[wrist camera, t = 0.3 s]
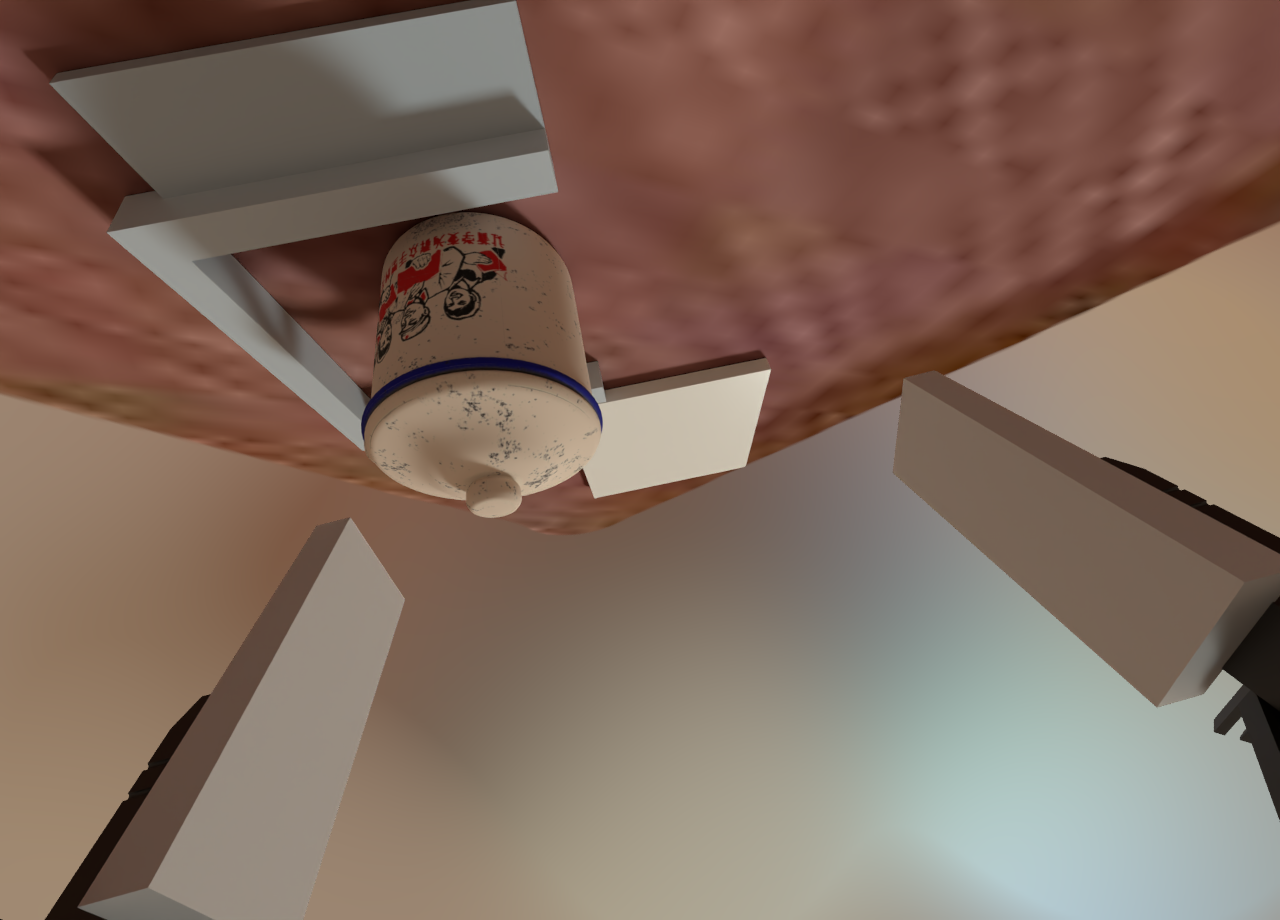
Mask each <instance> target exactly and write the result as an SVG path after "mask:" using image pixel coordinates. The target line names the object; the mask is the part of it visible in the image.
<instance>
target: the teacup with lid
mask: <svg viewBox="0 0 1280 920" xmlns="http://www.w3.org/2000/svg"><path fill="white" fill-rule="evenodd" d="M602 428H603V418H602V413H601V410H600V407H599V405H598V403H597V401H596V400H595V398H594V397H593V396H592V391H591V385H590V380H589V374H588V369H587V363H586V358H585V352H584V347H583V341H582V336H581V330H580V325H579V319H578V314H577V308H576V303H575V297H574V292H573V286H572V282H571V278H570V275H569V272H568V270H567V268H566V266H565V264H564V262H563V260H562V259H561V257H560V256H559V254H558V253H557V252H556V251H555V249H554V248H553V247H552V246H551V245H550V244H549V243H548V242H547V241H545V240H544V239H543V238H542V237H541V236H539V235H538V234H536V233H535V232H534V231H532V230H530V229H529V228H527V227H525V226H523V225H521V224H519V223H517V222H515V221H512V220H509V219H506V218H503V217H499V216H495V215H490V214H485V213H474V212H461V213H451V214H445V215H440V216H437V217H433V218H430V219H428V220H425V221H423V222H421V223H419V224H417V225H415V226H414V227H412V228H411V229H409V230H408V231H407V232H405V233H404V234H403V235H402V236H401V237H400V238H399V239H398V240H397V241H396V242H395V243H394V245H393V246H392V248H391V249H390V251H389V253H388V255H387V257H386V259H385V263H384V266H383V271H382V279H381V290H380V301H379V313H378V324H377V336H376V347H375V359H374V370H373V382H372V393H371V399H370V401H369V402H368V404H367V406H366V407H365V410H364V412H363V415H362V421H361V433H362V437H363V440H364V449H365V452H366V455H367V456H368V458H369V459H370V460H371V461H372V462H374V463H375V464H376V465H377V466H378V467H379V468H380V469H381V470H382V471H383V472H384V473H385V474H386V475H388V476H389V477H390V478H392V479H393V480H395V481H397V482H398V483H400V484H402V485H404V486H406V487H409V488H411V489H414V490H416V491H419V492H422V493H425V494H429V495H433V496H438V497H443V498H449V499H458V500H466V504H467V507H468V508H469V510H470V511H471V512H472V513H474V514H475V515H478V516H481V517H489V518H493V517H501V516H505V515H508V514H511V513H513V512H514V511H515V510H516V509H517V508H518V507H519V506H520V504H521V501H522V496H524V495H528V494H532V493H536V492H539V491H542V490H545V489H548V488H550V487H553V486H555V485H557V484H559V483H561V482H563V481H565V480H567V479H569V478H570V477H572V476H573V475H575V474H576V473H577V472H579V471H580V470H581V469H582V468H583V467H584V466H585V465H586V464H587V463H588V462H589V461H590V460H591V458H592V457H593V455H594V453H595V452H596V449H597V447H598V445H599V442H600V438H601V433H602Z"/></svg>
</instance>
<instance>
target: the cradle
mask: <svg viewBox="0 0 1280 920" xmlns="http://www.w3.org/2000/svg"><path fill="white" fill-rule="evenodd" d="M49 84H50V85H51V86H52V87H53V88H54V89H55V90H56V91H57V92H58V93H59V94H60V95H61V96H62V97H63V98H64V99H65V100H66V101H67V102H68V103H69V104H70V105H71V106H72V107H73V108H74V109H75V110H76V111H77V112H78V113H79V114H80V115H81V116H82V117H83V118H84V119H85V120H86V121H87V122H88V123H89V124H90V125H91V126H92V127H93V128H94V129H95V130H96V131H97V132H98V133H99V134H100V135H101V136H102V137H103V138H104V139H105V140H106V142H107V143H108V144H109V145H110V146H111V147H112V148H113V149H114V150H115V151H116V152H117V153H118V154H119V155H120V156H121V157H122V158H123V159H124V160H125V161H126V162H127V163H128V164H129V165H130V166H131V167H132V168H133V169H134V170H135V171H136V172H137V173H138V174H139V175H140V176H141V177H142V178H143V179H144V180H145V181H146V182H147V183H148V184H149V185H150V186H151V187H152V188H153V189H154V190H155V191H152V192H146V193H141V194H136V195H130V196H125V198H124V200H123V201H122V203H121V205H120V207H119V209H118V211H117V213H116V215H115V217H114V219H113V221H112V223H111V225H110V227H109V229H108V231H107V233H108V234H109V235H110V236H111V237H112V238H114V239H115V240H116V241H117V242H118V243H119V244H121V245H122V246H123V247H124V248H125V249H126V250H128V251H129V252H130V253H131V254H132V255H134V256H135V257H136V258H137V259H138V260H139V261H141V262H142V263H143V264H144V265H145V266H146V267H148V268H149V269H150V270H151V271H152V272H153V273H155V274H156V275H157V276H158V277H159V278H161V279H162V280H163V281H164V282H165V283H166V284H168V285H169V286H170V287H171V288H172V289H173V290H175V291H176V292H177V293H178V294H179V295H180V296H182V297H183V298H184V299H185V300H186V301H188V302H189V303H190V304H191V305H192V306H193V307H195V308H196V309H197V310H198V311H199V312H200V313H202V314H203V315H204V316H205V317H206V318H207V319H209V320H210V321H211V322H212V323H213V324H215V325H216V326H217V327H218V328H219V329H220V330H222V331H223V332H224V333H225V334H226V335H227V336H229V337H230V338H231V339H232V340H233V341H235V342H236V343H237V344H238V345H239V346H240V347H242V348H243V349H244V350H245V351H246V352H247V353H249V354H250V355H251V356H252V357H253V358H254V359H256V360H257V361H258V362H259V363H260V364H262V365H263V366H264V367H265V368H266V369H267V370H269V371H270V372H271V373H272V374H273V375H274V376H276V377H277V378H278V379H279V380H280V381H281V382H283V383H284V384H285V385H286V386H287V387H289V388H290V389H291V390H292V391H293V392H294V393H296V394H297V395H298V396H299V397H300V398H301V399H303V400H304V401H305V402H306V403H307V404H308V405H310V406H311V407H312V408H313V409H314V410H316V411H317V412H318V413H319V414H320V415H321V416H323V417H324V418H325V419H326V420H327V421H328V422H330V423H331V424H332V425H333V426H334V427H336V428H337V429H338V430H339V431H340V432H341V433H343V434H344V435H345V436H346V437H347V438H348V439H350V440H351V441H352V442H353V443H354V444H355V445H357V446H358V447H359V448H360V449H361V450H363V451H365V449H364V440H363V437H362V433H361V421H362V415H363V412H364V410H365V407H366V406H367V404H368V402H369V401H370V398H369V397H368V396H367V395H366V394H365V393H364V392H363V391H362V390H361V389H360V388H359V387H358V386H357V385H356V384H355V383H354V382H353V381H352V379H351V378H350V377H349V376H348V375H347V374H346V373H345V372H344V371H343V370H342V369H341V368H340V367H339V366H338V365H337V364H336V363H335V362H334V361H333V360H332V359H331V358H330V357H329V356H328V355H327V354H326V352H325V351H324V350H323V349H322V348H321V347H320V346H319V345H318V344H317V343H316V342H315V341H314V340H313V339H312V338H311V337H310V336H309V335H308V334H307V333H306V332H305V331H304V330H303V329H302V328H301V326H300V325H299V324H298V323H297V322H296V321H295V320H294V319H293V318H292V317H291V316H290V315H289V314H288V313H287V312H286V311H285V310H284V309H283V308H282V307H281V306H280V305H279V304H278V303H277V302H276V300H275V299H274V298H273V297H272V296H271V295H270V294H269V293H268V292H267V291H266V290H265V289H264V288H263V287H262V286H261V285H260V284H259V283H258V282H257V281H256V280H255V279H254V278H253V277H252V276H251V275H250V273H249V272H248V271H247V270H246V269H245V268H244V267H243V266H242V265H241V264H240V263H239V262H238V261H237V260H236V259H235V258H234V257H233V256H232V255H231V254H232V253H237V252H243V251H248V250H253V249H259V248H264V247H269V246H275V245H280V244H285V243H290V242H296V241H301V240H306V239H312V238H317V237H322V236H327V235H333V234H338V233H343V232H349V231H354V230H359V229H364V228H370V227H375V226H380V225H386V224H391V223H396V222H401V221H407V220H412V219H417V218H423V217H428V216H433V215H439V214H444V213H449V212H454V211H460V210H465V209H470V208H476V207H481V206H486V205H491V204H497V203H502V202H507V201H513V200H518V199H523V198H528V197H534V196H539V195H544V194H550V193H555V192H558V188H557V183H556V178H555V172H554V167H553V161H552V157H551V153H550V148H549V144H548V139H547V135H546V131H545V126H544V122H543V117H542V113H541V108H540V104H539V100H538V95H537V91H536V86H535V82H534V78H533V73H532V69H531V64H530V60H529V56H528V51H527V47H526V42H525V38H524V33H523V29H522V25H521V20H520V16H519V11H518V7H517V3H516V0H469V1H463V2H458V3H452V4H446V5H441V6H435V7H429V8H424V9H418V10H412V11H407V12H401V13H395V14H390V15H384V16H378V17H373V18H367V19H361V20H356V21H350V22H344V23H339V24H333V25H327V26H322V27H316V28H310V29H305V30H299V31H293V32H288V33H282V34H276V35H271V36H265V37H259V38H253V39H248V40H242V41H236V42H231V43H225V44H219V45H214V46H208V47H202V48H197V49H191V50H185V51H180V52H174V53H168V54H163V55H157V56H151V57H146V58H140V59H134V60H129V61H123V62H117V63H112V64H106V65H100V66H95V67H89V68H83V69H78V70H72V71H66V72H61V73H57V74H56V75H55V76H54V77H53V79H52V80H51V81H50V83H49ZM587 369H588V374H589V380H590V385H591V391H592V396H593V397H594V398H595V400H596V401H597V403H602V402H606V396H605V391H604V386H603V382H602V378H601V373H600V369H599V364H598V361H595V362H590V363H587Z"/></svg>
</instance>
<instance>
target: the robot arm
mask: <svg viewBox="0 0 1280 920" xmlns="http://www.w3.org/2000/svg"><path fill="white" fill-rule="evenodd" d="M893 473H894V474H895V475H896V476H897V477H898V478H900V480H902V481H903V482H904V483H905V484H906V485H907V486H908V487H909V488H910V489H912V490H913V491H914V492H915V493H916V494H917V495H918V496H920V497H921V498H922V499H923V500H924V501H925V502H926V503H927V504H928V505H930V506H931V507H932V508H933V509H934V510H935V511H936V512H938V513H939V514H940V515H941V516H942V517H943V518H944V519H946V520H947V521H948V522H949V523H950V524H951V525H952V526H953V527H955V529H957V530H958V531H959V532H960V533H961V534H962V535H963V536H965V537H966V538H967V539H968V540H969V541H970V542H971V543H973V544H974V545H975V546H976V547H977V548H978V549H979V550H980V551H981V552H982V553H984V554H985V555H986V556H987V557H988V558H989V559H990V560H992V561H993V562H994V563H995V564H996V565H997V566H998V567H999V568H1000V569H1002V570H1003V571H1004V572H1005V573H1006V574H1008V576H1009V577H1011V578H1012V579H1013V580H1014V581H1015V582H1016V583H1017V584H1018V585H1020V586H1021V587H1022V588H1023V589H1024V590H1025V591H1026V592H1028V593H1029V594H1030V595H1031V596H1032V597H1033V598H1034V599H1036V600H1037V601H1038V602H1039V603H1040V604H1041V605H1042V606H1043V607H1045V608H1046V609H1047V610H1048V611H1049V612H1050V613H1051V614H1052V615H1053V616H1055V617H1056V618H1057V619H1058V620H1059V621H1060V622H1061V623H1062V624H1064V625H1065V626H1066V627H1067V628H1068V629H1069V630H1070V631H1071V632H1073V633H1074V634H1075V635H1076V636H1077V637H1078V638H1079V639H1080V640H1082V641H1083V642H1084V643H1085V644H1086V645H1087V646H1088V647H1089V648H1091V649H1092V650H1093V651H1094V652H1095V653H1096V654H1097V655H1098V656H1100V657H1101V658H1102V659H1103V660H1104V661H1105V662H1106V663H1108V664H1109V665H1110V666H1111V667H1112V668H1113V669H1114V670H1115V671H1117V672H1118V673H1119V674H1120V675H1121V676H1122V677H1123V678H1124V679H1126V680H1127V681H1128V682H1129V683H1130V684H1131V685H1132V686H1133V687H1134V688H1136V689H1137V690H1138V691H1139V692H1140V693H1141V694H1142V695H1143V696H1145V697H1146V698H1147V699H1148V700H1149V701H1150V702H1152V703H1153V704H1154V705H1155V706H1156V707H1161V706H1164V705H1167V704H1171V703H1174V702H1178V701H1181V700H1185V699H1188V698H1192V697H1195V696H1199V695H1202V694H1204V693H1205V692H1206V690H1207V689H1208V688H1209V686H1210V685H1211V683H1213V681H1214V680H1215V679H1216V677H1217V676H1218V675H1219V674H1220V672H1221V671H1222V670H1225V671H1226V672H1227V673H1229V674H1230V675H1231V676H1233V677H1234V678H1235V679H1237V680H1238V681H1239V682H1241V683H1242V684H1243V686H1242V687H1241V688H1240V689H1239V690H1238V691H1237V693H1236V694H1235V695H1234V696H1233V697H1232V699H1231V700H1230V701H1229V702H1228V703H1227V705H1226V706H1225V707H1224V708H1223V709H1222V711H1221V712H1220V713H1219V714H1218V715H1217V717H1216V718H1215V719H1214V732H1216V733H1219V734H1222V735H1225V734H1226V733H1227V732H1228V731H1229V730H1230V729H1231V727H1232V726H1233V725H1234V724H1235V723H1236V722H1237V721H1238V720H1239V719H1240V717H1242V718H1243V721H1244V723H1245V726H1246V730H1245V731H1244V732H1243V734H1242V735H1241V737H1240V740H1242V741H1246V742H1249V743H1252V745H1253V748H1254V751H1255V754H1256V757H1257V759H1258V762H1259V765H1260V768H1261V770H1262V773H1263V776H1264V779H1265V781H1266V784H1267V787H1268V790H1269V792H1270V795H1271V798H1272V801H1273V803H1274V806H1275V809H1276V812H1277V814H1278V817H1279V819H1280V538H1279V537H1277V536H1275V535H1273V534H1271V533H1269V532H1267V531H1265V530H1263V529H1261V528H1259V527H1257V526H1255V525H1253V524H1252V523H1250V522H1248V521H1246V520H1244V519H1241V518H1240V517H1237V516H1236V515H1234V514H1232V513H1230V512H1228V511H1226V510H1224V509H1222V508H1220V507H1218V506H1216V505H1208V504H1207V503H1206V500H1204V499H1202V498H1200V497H1199V496H1197V495H1195V494H1193V493H1191V492H1189V491H1187V490H1182V491H1181V490H1179V489H1178V486H1177V485H1175V484H1173V483H1171V482H1169V481H1167V480H1165V479H1163V478H1161V477H1159V476H1157V475H1155V474H1153V473H1151V472H1149V471H1147V470H1146V469H1143V468H1139V467H1137V466H1133V465H1130V464H1127V463H1124V462H1120V461H1117V460H1114V459H1110V458H1107V457H1103V458H1098V457H1096V456H1094V455H1092V454H1091V453H1089V452H1087V451H1085V450H1083V449H1081V448H1079V447H1077V446H1076V445H1074V444H1072V443H1070V442H1068V441H1066V440H1064V439H1062V438H1060V437H1059V436H1057V435H1055V434H1053V433H1051V432H1049V431H1047V430H1045V429H1044V428H1042V427H1040V426H1038V425H1036V424H1034V423H1032V422H1030V421H1029V420H1026V419H1025V418H1023V417H1021V416H1019V415H1017V414H1015V413H1013V412H1012V411H1010V410H1007V409H1006V408H1004V407H1002V406H1000V405H998V404H996V403H995V402H993V401H991V400H989V399H987V398H985V397H983V396H982V395H980V394H978V393H976V392H974V391H972V390H970V389H968V388H966V387H965V386H963V385H961V384H959V383H957V382H955V381H953V380H951V379H950V378H948V377H946V376H944V375H942V374H940V373H938V372H936V371H930V372H926V373H922V374H918V375H914V376H910V377H906V378H904V380H903V389H902V398H901V406H900V415H899V423H898V432H897V441H896V449H895V458H894V466H893ZM404 601H405V599H404V597H403V596H402V594H401V593H400V591H399V590H398V588H397V587H396V585H395V584H394V582H393V581H392V579H391V578H390V576H389V575H388V573H387V572H386V570H385V569H384V567H383V566H382V564H381V563H380V561H379V560H378V558H377V557H376V555H375V554H374V552H373V551H372V549H371V548H370V546H369V545H368V543H367V542H366V540H365V538H364V537H363V535H362V534H361V532H360V531H359V529H358V528H357V526H356V525H355V523H354V522H353V520H352V519H351V518H346V519H342V520H338V521H334V522H330V523H326V524H322V525H318V526H316V527H315V529H314V530H313V532H312V534H311V535H310V537H309V538H308V540H307V542H306V543H305V545H304V546H303V548H302V550H301V551H300V553H299V555H298V556H297V558H296V559H295V561H294V562H293V564H292V566H291V567H290V569H289V570H288V572H287V574H286V575H285V577H284V578H283V580H282V582H281V583H280V585H279V586H278V588H277V590H276V591H275V593H274V594H273V596H272V597H271V599H270V601H269V602H268V604H267V605H266V607H265V609H264V610H263V612H262V613H261V615H260V617H259V618H258V620H257V621H256V623H255V625H254V626H253V628H252V629H251V631H250V633H249V634H248V636H247V637H246V639H245V641H244V642H243V644H242V645H241V647H240V649H239V650H238V652H237V653H236V655H235V656H234V658H233V660H232V661H231V663H230V664H229V666H228V668H227V669H226V671H225V673H224V674H223V676H222V677H221V679H220V680H219V682H218V684H217V685H216V687H215V688H214V690H213V692H212V693H211V694H210V695H206V696H202V697H201V698H200V699H199V700H198V701H197V702H196V703H195V704H194V705H193V706H192V707H191V708H190V709H189V710H188V712H187V713H186V714H185V715H184V716H183V717H182V718H181V719H180V720H179V721H178V722H177V723H176V724H175V725H174V726H173V727H172V728H171V729H170V731H169V732H168V734H167V735H166V737H165V738H164V740H163V741H162V743H161V744H160V746H159V747H158V749H157V750H156V752H155V753H154V755H153V757H152V758H151V759H150V761H149V762H148V765H149V767H148V770H144V771H143V772H142V773H141V775H140V776H139V778H138V779H137V781H136V782H135V784H134V785H133V787H132V788H131V790H130V791H129V793H128V794H129V798H128V800H126V801H123V802H122V803H121V805H120V806H119V808H118V809H117V811H116V813H115V814H114V816H113V817H112V819H111V820H110V822H109V823H108V825H107V826H106V828H105V829H104V831H103V833H102V834H101V835H100V837H99V838H98V840H97V841H96V843H95V844H94V846H93V848H92V849H91V850H90V852H89V854H88V855H87V857H86V858H85V859H84V861H83V863H82V864H81V866H80V867H79V869H78V870H77V872H76V873H75V875H74V876H73V878H72V879H71V881H70V882H69V884H68V885H67V887H66V888H65V890H64V891H63V893H62V894H61V896H60V897H59V899H58V900H57V902H56V903H55V905H54V907H53V908H52V910H51V911H50V913H49V914H48V916H47V917H46V919H45V920H303V918H304V915H305V911H306V909H307V905H308V903H309V899H310V896H311V893H312V890H313V887H314V884H315V881H316V877H317V874H318V871H319V868H320V865H321V862H322V858H323V855H324V852H325V849H326V846H327V843H328V840H329V837H330V833H331V830H332V827H333V824H334V821H335V818H336V815H337V811H338V808H339V805H340V802H341V799H342V796H343V793H344V789H345V786H346V783H347V780H348V777H349V774H350V770H351V767H352V764H353V761H354V758H355V755H356V751H357V749H358V745H359V742H360V739H361V736H362V733H363V729H364V726H365V723H366V720H367V717H368V714H369V710H370V708H371V705H372V701H373V698H374V695H375V692H376V689H377V686H378V683H379V679H380V676H381V673H382V670H383V667H384V664H385V660H386V657H387V654H388V651H389V648H390V645H391V642H392V638H393V636H394V632H395V629H396V626H397V623H398V619H399V616H400V614H401V610H402V607H403V604H404ZM0 920H2V919H0Z"/></svg>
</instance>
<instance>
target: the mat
mask: <svg viewBox="0 0 1280 920" xmlns="http://www.w3.org/2000/svg"><path fill="white" fill-rule="evenodd" d="M770 371H771V368H770V366H769V363H768V361H767V359H766V358H763V359H758V360H753V361H748V362H743V363H738V364H733V365H728V366H723V367H718V368H713V369H708V370H703V371H698V372H693V373H688V374H683V375H678V376H673V377H668V378H663V379H658V380H653V381H649V382H644V383H639V384H634V385H629V386H624V387H619V388H614V389H609V390H604V391H605V396H606V402H602V403H598V405H599V407H600V410H601V413H602V418H603V428H602V433H601V438H600V442H599V445H598V447H597V449H596V452H595V453H594V455H593V457H592V458H591V460H590V461H589V462H588V463H587V464H586V465H585V466H584V467H583V470H584V472H585V475H586V477H587V480H588V483H589V485H590V488H591V490H592V493H593V496H594V498H598V497H603V496H607V495H612V494H617V493H622V492H627V491H631V490H636V489H641V488H646V487H651V486H655V485H660V484H665V483H670V482H675V481H679V480H684V479H689V478H694V477H699V476H703V475H708V474H713V473H718V472H723V471H727V470H732V469H737V468H742V467H746V463H747V459H748V455H749V451H750V447H751V444H752V440H753V436H754V432H755V428H756V425H757V421H758V417H759V413H760V409H761V405H762V402H763V398H764V394H765V390H766V386H767V383H768V379H769V375H770Z"/></svg>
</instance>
